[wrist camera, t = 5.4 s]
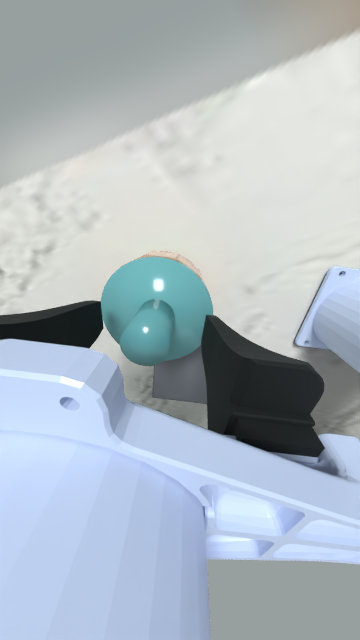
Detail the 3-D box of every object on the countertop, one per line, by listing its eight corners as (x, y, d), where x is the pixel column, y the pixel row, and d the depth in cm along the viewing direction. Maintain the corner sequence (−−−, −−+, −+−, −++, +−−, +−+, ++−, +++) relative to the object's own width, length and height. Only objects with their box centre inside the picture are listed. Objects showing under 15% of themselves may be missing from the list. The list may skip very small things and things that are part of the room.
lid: (224, 268, 12) (243, 286, 8) (199, 362, 16) (202, 408, 12) (103, 246, 12) (56, 252, 8) (106, 346, 16) (76, 388, 12)
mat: (237, 347, 19) (238, 349, 19) (220, 402, 23) (220, 405, 23) (156, 337, 19) (155, 339, 19) (153, 394, 23) (152, 397, 23)
